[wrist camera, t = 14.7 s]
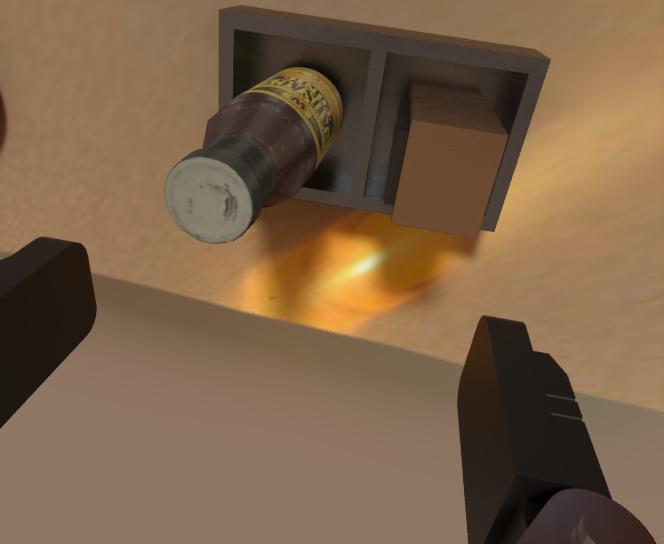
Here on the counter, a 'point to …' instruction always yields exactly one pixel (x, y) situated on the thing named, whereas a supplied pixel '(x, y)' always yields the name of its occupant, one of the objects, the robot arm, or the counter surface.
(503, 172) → the two-compartment tray
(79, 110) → the counter surface
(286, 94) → the sauce bottle
